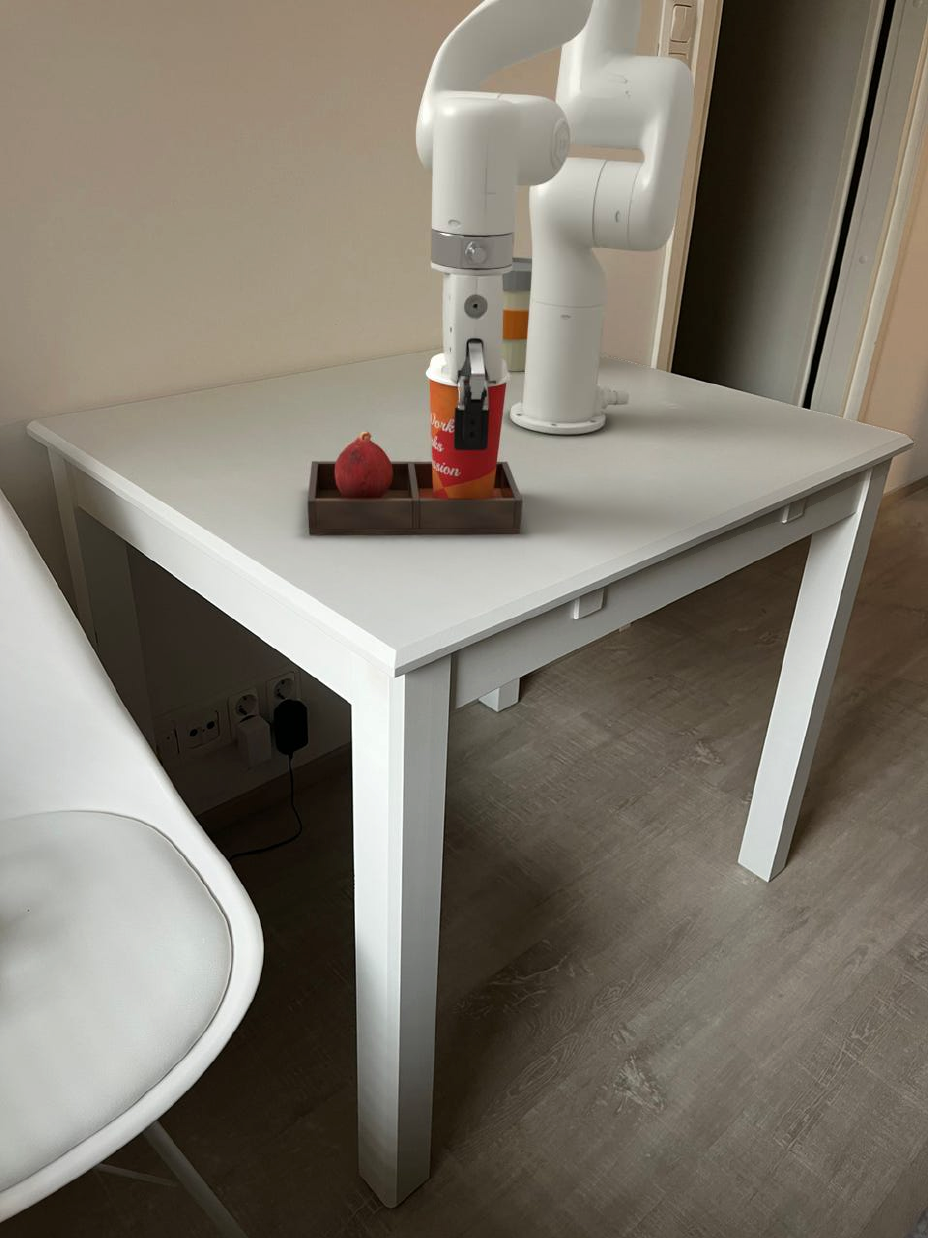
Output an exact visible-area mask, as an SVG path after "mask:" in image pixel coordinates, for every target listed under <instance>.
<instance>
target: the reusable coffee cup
mask: <svg viewBox="0 0 928 1238" xmlns="http://www.w3.org/2000/svg"><path fill="white" fill-rule="evenodd" d="M531 277H532V257H531V258H530V257H517V256H513V267H512V271H511V272H509V273H505V274H502V283H503V341H502V358H503V359H504V360H505V361H506V364H507V371H508V372H525V362H526V348H527V334H528V320H529V306H530V293H531Z"/></svg>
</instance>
